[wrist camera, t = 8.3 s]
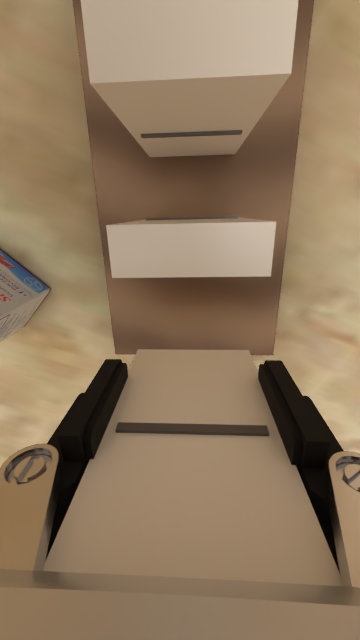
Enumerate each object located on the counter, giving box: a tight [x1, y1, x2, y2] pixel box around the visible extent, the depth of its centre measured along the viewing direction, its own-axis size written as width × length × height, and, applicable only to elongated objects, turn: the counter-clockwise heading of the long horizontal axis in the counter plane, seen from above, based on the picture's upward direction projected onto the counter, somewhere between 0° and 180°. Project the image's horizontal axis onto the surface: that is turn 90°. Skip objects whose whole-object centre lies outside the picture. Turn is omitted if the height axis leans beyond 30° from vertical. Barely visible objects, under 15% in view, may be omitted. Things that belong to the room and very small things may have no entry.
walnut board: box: [73, 0, 314, 355], centre depth 16 cm, size 28×12×1 cm, turn 1°
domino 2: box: [106, 216, 276, 278], centre depth 13 cm, size 2×5×10 cm, turn 92°
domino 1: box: [81, 0, 299, 157], centre depth 11 cm, size 2×5×10 cm, turn 91°
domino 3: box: [43, 349, 342, 586], centre depth 8 cm, size 2×5×10 cm, turn 91°
